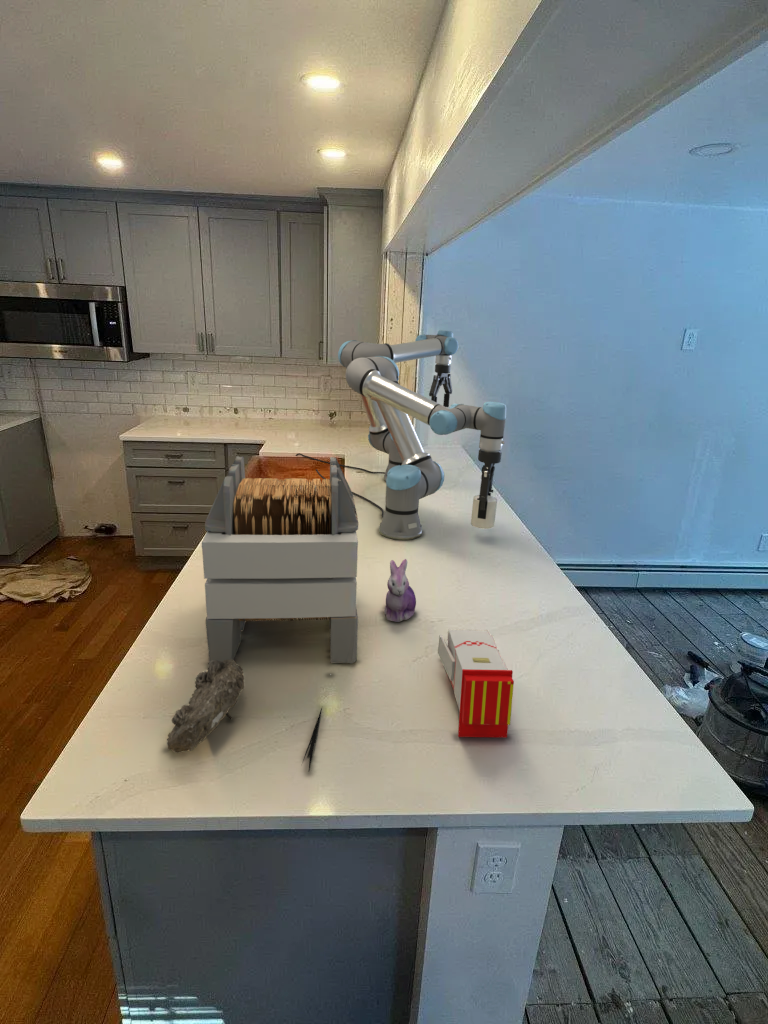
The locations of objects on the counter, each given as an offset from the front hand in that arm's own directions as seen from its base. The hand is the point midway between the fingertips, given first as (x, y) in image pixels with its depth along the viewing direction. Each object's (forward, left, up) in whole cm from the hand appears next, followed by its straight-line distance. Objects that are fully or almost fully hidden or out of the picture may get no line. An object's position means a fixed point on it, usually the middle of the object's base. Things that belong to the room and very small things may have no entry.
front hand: (483, 514), depth 195 cm
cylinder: (0, 0, -4) cm, 4 cm away
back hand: (-78, +57, +20) cm, 99 cm away
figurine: (+22, -58, -9) cm, 62 cm away
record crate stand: (+9, -84, -9) cm, 85 cm away
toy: (+54, -67, -9) cm, 87 cm away
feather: (+42, -97, -9) cm, 106 cm away
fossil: (+29, -113, -9) cm, 117 cm away
